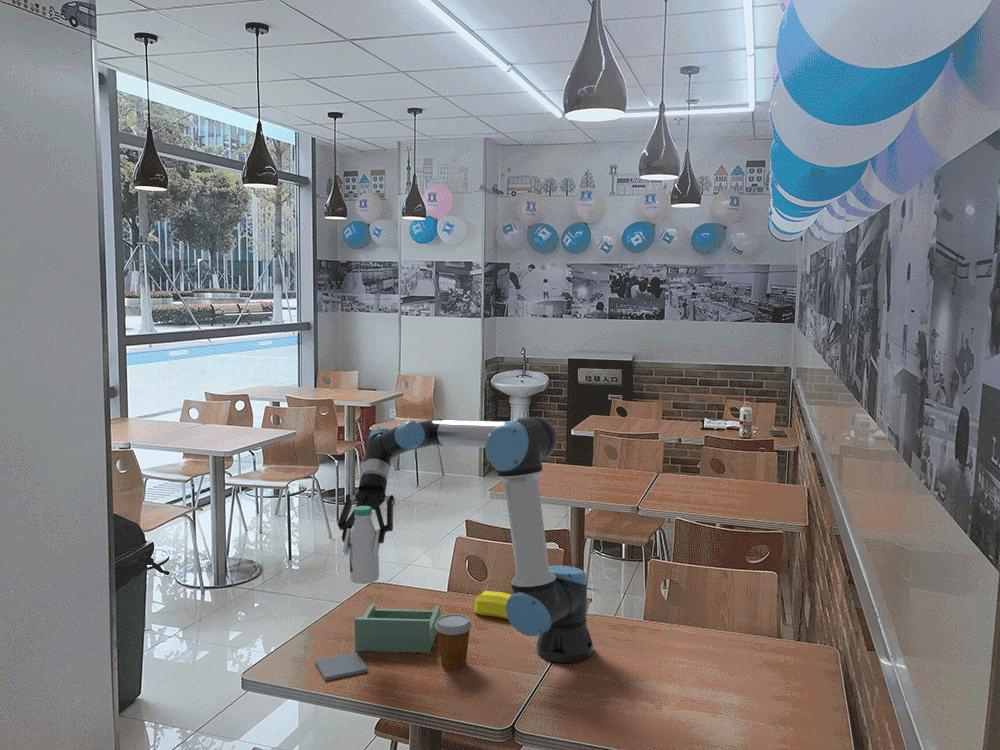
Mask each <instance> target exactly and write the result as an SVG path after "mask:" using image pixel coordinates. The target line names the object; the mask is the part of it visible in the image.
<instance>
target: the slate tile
mask: <svg viewBox="0 0 1000 750" xmlns="http://www.w3.org/2000/svg"><path fill="white" fill-rule="evenodd" d="M314 664H315V666H316V667H317V669H318V671H319V673H320V674H321V676H322V678H323V679H324V681H325V682H328V681H333V680H336V679H337V678H338V679H341V678H348V677H351V675H352V676H357V675H361V673H362V674H365V673H364V672H367V673H369V668H368V667H367V665H366V663H365V662H364V661H363V660H362V658H361V657H360V655H359V654H358V652H357V651H355V652H349V653H343V654H338V655H333V656H328V657H322V658H318V659H315V661H314ZM356 674H357V675H356Z"/></svg>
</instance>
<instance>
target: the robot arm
mask: <svg viewBox="0 0 1000 750" xmlns="http://www.w3.org/2000/svg"><path fill="white" fill-rule="evenodd" d="M557 435H558V434H557V431H556V428H555V426H554V425H553V424H552V423H551V422H550V420H548V419H546V418H544V417H542V416H530V417H517V418H516V419H515V420H510V421H508V420H507V421H506V420H504V421H503V420H468V419H467V420H461V419H459V420H458V419H457V420H456V419H446V418H443V417H438V418H431V419H428V420H422V421H418V422H417V421H415V420H408V421H406V422H402V423H400V424H399V425H398V426H395V427H393V428H392V429H389V428H385V427H380V428H378V427H376V428H374V429H372V430H371V432H370V433H369V436H368V439H367V443H366V448H365V449H366V450H365V454H364V460H363V464H362V470H361V477H360V479H359V485H358V491H356V493H355V494H354V495H350V494H348V493H347V494H346V495H345V502H344V505H343V508H342V511H341V514H340V516H339V519H338V521H337V526H338V529H339V531H342V533H341V534H342V535H341V541H342V542H343V547H342V552H343V554H344V555H345V556H349V539H350V533H351V530H352V528H353V526H354V522H355V516H354V510H353V511H352V512H351V510H352V506H353V504H354V503H355V501H357V503H356V505H355V507H358V506H369V507H371V510H372V511H375V514H376V518H377V522H378V526H379V528H377V529H376V537H375V543H374V548H373V552H374V555H375V556H378V555H379V549H380V546H381V544H384V541H385V538H386V537H385V536H386V533H387V532H392V531H393V530H394V505H395V503H396V500H395V497H394V495H393V494H391V495H386V491H387V484H388V480H389V473H390V468H391V463H392V459H394V458H395V457H397V456H400V455H402V454H404V453H407V452H410V451H413V450H417V449H423V448H426V447H430V446H431V447H433V446H442V447H444V446H446V447H447V446H448V447H465V448H467V447H468V448H485V456H486V459H487V461H488V462H489V463H490V464H491V466H492V467H493V468H494V469H495V470H496V472H497V478H499V479H500V480H501V481H503V482H504V490H505V498H506V506H507V513H508V520H509V521H508V523H509V528H510V529H509V530H510V538H511V545H512V552H513V561H514V568H515V575H514V577H512V579H511V580H510V581H511V582H510V585H511V593H512V594H511V596H510V598H509V599H508V601H507V603H506V615H507V618H508V622H509V623H510V626H512V627H513V628H515V629H516V631H517V632H518V633H520V634H521V635H523V636H525V637H526V636H527V637H537V636H538V639H537V641H536V652H537V654H538V655H539V657H541V658H542V659H545V660H547V661H549V662H552V663H553V662H554V663H559V664H575V663H579V662H583V661H586V660H587V659H589V658H591V656H592V655H593V654H594V645H593V643H594V642H593V641H592V640H593V639H592V638H591V633H590V631H589V628H588V625H587V614H588V613H587V611H588V610H587V608H588V607H587V603H588V601H587V599H588V597H587V596H588V595H587V594H588V583H587V581H588V580H587V573H586V572H585V571H584V570H582V569H580V568H577V567H574V566H569V565H561V564H560V565H556V564H555V565H549V557H548V550H547V541H546V531H545V525H544V517H543V508H542V502H541V496H540V495H541V493H540V486H539V476H540V475H541V474H542V473H543V471H544V470H543V461H542V460H544V459H547V458H548V457H550V455H551V454H553V452H554V450H555V449H556V446H557V444H558V436H557ZM384 502H385V503H386V524H385V521H384V517H383V515H382V512H381V511H382V510H381V507H380V506H381V505H382V504H383V503H384ZM350 513H351V514H350Z"/></svg>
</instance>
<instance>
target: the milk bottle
mask: <svg viewBox="0 0 1000 750" xmlns="http://www.w3.org/2000/svg"><path fill="white" fill-rule="evenodd" d="M353 511H354V516H355V522H354V525H353V527H352V528H351V533H350V539H349V551H348V554H349V578H350V581H351V582H352V583H354V584H359V585H365V584H372V583H375V582H376V581H378V580H379V578H380V564H379V563H380V561H379V558H380V557H379V554H378V556H375V555H374V552H373V548H374V543H375V537H376V531H377V529H376V528H375V526H374V524H373V522H372V517H371V516H372V511H373V510H371V507H369V506H358V507H356V506H355V507H354V508H353Z"/></svg>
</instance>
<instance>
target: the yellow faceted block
mask: <svg viewBox="0 0 1000 750" xmlns="http://www.w3.org/2000/svg"><path fill="white" fill-rule="evenodd" d="M511 595H512V594H511V593H506V592H504V591H503V592H502V591H491V590H490V591H489V590H484V591H483V592H482V593H480V594H479V595H478V596H477V597H476V598H475V601H474V602H473V612H474V613H475V614H477V615H478V614H480V615H479V616H485V615H486V617H494V618H500V619H504V620H508V618H507V615H506V603H507V601H508V599H509V598H510V596H511ZM508 621H509V620H508Z"/></svg>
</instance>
